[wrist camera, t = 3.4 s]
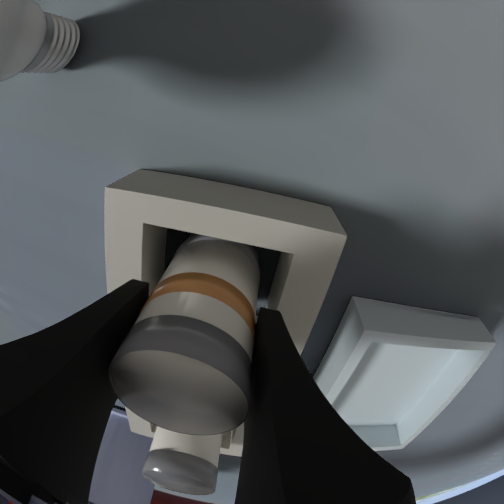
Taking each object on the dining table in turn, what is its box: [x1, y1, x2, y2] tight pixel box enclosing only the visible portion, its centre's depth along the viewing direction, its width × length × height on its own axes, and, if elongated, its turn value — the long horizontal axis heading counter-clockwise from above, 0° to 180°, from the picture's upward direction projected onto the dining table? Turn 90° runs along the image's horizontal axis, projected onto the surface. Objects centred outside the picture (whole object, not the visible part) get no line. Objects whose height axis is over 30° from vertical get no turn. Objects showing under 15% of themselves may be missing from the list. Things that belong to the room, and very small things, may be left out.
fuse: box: [142, 426, 223, 495], centre depth 14 cm, size 4×4×7 cm
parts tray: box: [313, 296, 497, 451], centre depth 15 cm, size 11×9×2 cm
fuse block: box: [104, 169, 347, 457], centre depth 14 cm, size 16×8×3 cm, turn 169°
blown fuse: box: [108, 233, 261, 435], centre depth 10 cm, size 4×4×7 cm
